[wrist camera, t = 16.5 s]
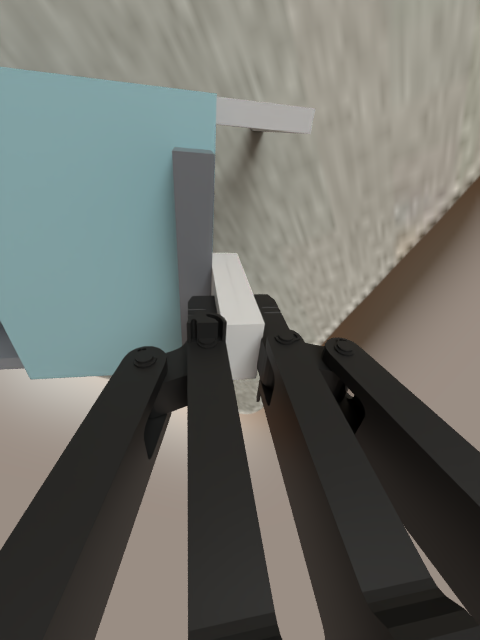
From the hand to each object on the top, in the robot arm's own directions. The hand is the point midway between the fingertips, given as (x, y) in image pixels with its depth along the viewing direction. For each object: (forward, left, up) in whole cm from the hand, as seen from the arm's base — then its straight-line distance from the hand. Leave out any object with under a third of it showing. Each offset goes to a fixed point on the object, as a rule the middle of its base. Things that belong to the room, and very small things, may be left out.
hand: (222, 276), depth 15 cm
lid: (-6, 0, -2) cm, 7 cm away
